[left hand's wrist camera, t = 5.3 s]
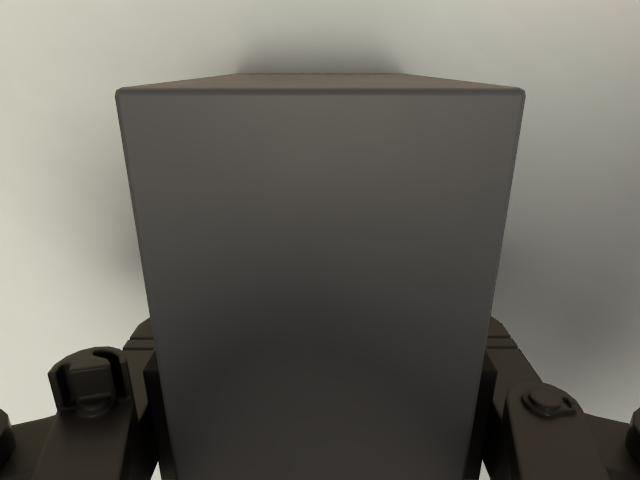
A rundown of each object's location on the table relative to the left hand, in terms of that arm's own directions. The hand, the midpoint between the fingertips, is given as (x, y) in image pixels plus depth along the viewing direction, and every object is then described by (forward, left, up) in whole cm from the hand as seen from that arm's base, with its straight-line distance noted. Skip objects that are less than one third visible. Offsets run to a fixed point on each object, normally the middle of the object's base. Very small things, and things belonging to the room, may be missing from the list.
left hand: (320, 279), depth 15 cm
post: (-3, +30, -1) cm, 30 cm away
